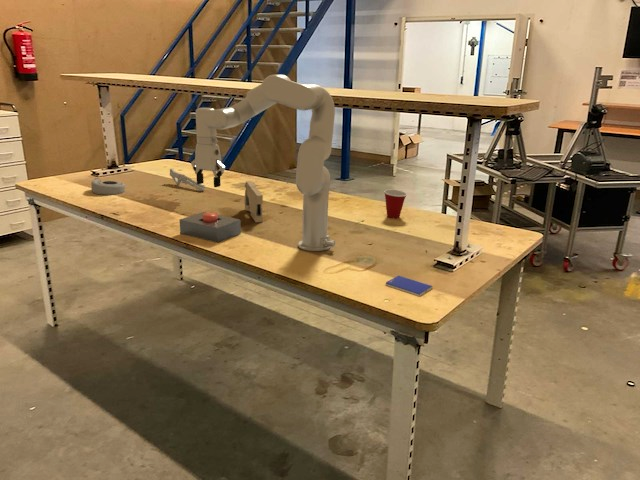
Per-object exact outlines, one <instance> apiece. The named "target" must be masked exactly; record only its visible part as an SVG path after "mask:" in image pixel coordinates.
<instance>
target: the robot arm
mask: <svg viewBox="0 0 640 480" xmlns="http://www.w3.org/2000/svg"><path fill="white" fill-rule="evenodd" d="M276 104H280V105H283V106H285V107H288V108H293V109H295V110H299V111H309V110H311V117H310V122H309V130H308V131H309V133H308V138H306V139H305V140H303V142H302V143H301V144H300V146H299V149H298V153H297V161H296V162H297V164H296V172H295V185H296V188H297V190H298V192H300V193H301V195H302V196H303V198H302V237H301V238H302V239H301V240H299V241H298V245H297V246H298V247H299V249H301V250H303V251H307V252H308V251H309V252H322V251H327V250H329V249H330V248H334V247H335V245H336V240H334V239H330V235H328V221H329V219H328V217H329V196H330V195H329V194H330V187H331V186H330V185H331V174H330V171H329V169H328V168H327V167H326V166H324V165H325V161H326V160H328V159H329V157H330V156H331V154H332V148H333V147H332V146H333V137H334V136H333V134H334V124H335V114H336V109H335V108H336V106H335V103H334V99H333V97H332V95H331V94H330V92H329V91H328V90H326V88H324V87H323V86H321V85H318V84H314V83H309V84H308V83H307V84H302V83H299V82H295V81H292V80H291V79H290V77H289V76H287V75H285V74H270V75H268V76H267V77H265V78H264V79H263V81H262V82H261V84H258V85H257V86H256V87H253V88H252V89H249V90H248V91H247V92H246V96H245V98H243V99H242V100H240V101H239V102H237V103H235V104H233V105H231V106H230V107H223V108H216V109H215V108H213V107H212V108H211V107H198V108H197V109H195V124H196V125H195V129H196V144H195V150H194V151H195V154H194V159H193V160H192V161H191V162H190V165H191V167H192V169H193V171H194V174H195V175H196V182H197V184H202V185H203V184H204V173H203V171H207V172H211V173H212V174H213V188H219V187H221V186H222V185H221V177H222V176H223V174H224V172H225V170H226V166H225V165H224V164H223V163H222V155H221V148H220V145H219V144H218V142H219V139H217V138H218V137H217V135H218V133H217V130H227V129H230V128H235V127H237V126H239V125H241V124H243V123H245V122H247V121H249V120H250V119H252V118H254V117H255V116H257V115H260V113H262V112H263V111H265V110H267V109H269V108H271V107H272V106H275V105H276Z"/></svg>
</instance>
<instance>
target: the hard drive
mask: <svg viewBox="0 0 640 480" xmlns="http://www.w3.org/2000/svg"><path fill="white" fill-rule="evenodd" d="M385 286H387V287H390V288H393V289H397V290H400V291H403V292H405V293H408V294H412V295H415V296H418V297H421V296H422V295H424V294H425V293H427V292H429V291H430V290H432V289H433V285H432V284H431V285H430V284H427V283H425V282H420V281H418V280H414V279H411V278H407V277H405V276H401V275H397V276H395V277H393V278H391V279H389V280H387V281H386V282H385Z"/></svg>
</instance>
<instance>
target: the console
mask: <svg viewBox="0 0 640 480" xmlns="http://www.w3.org/2000/svg"><path fill="white" fill-rule="evenodd" d="M205 213H207V212H205V211H202V212H198V213H196V214H192V215H190V216H186V217H183V218H180V219H179V232H180V235H183V236H188V237H193V238H196V239H200V240H201V239H202V240H204V241H205V240H206V241H209V242H213V243H221V242H223V241H227V240H228V239H232V238H233V237H235V236H239V235H240V234H242V232H241V226H242V225H241V219H239V218H234V217H229V216H224V215H220V214H217V217H218V221H215V222H212V223H208V222H204V221H203V220H202V215H203V214H205Z"/></svg>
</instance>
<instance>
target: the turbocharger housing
mask: <svg viewBox="0 0 640 480" xmlns="http://www.w3.org/2000/svg"><path fill="white" fill-rule="evenodd" d="M90 186H91V192H93V194H96V195H99V196H101V195H102V196H104V195H105V196H113V195H119V194H122V193H124V192H125V191H126V185H125V183H123V182H121V181H117V180H102V181H101V179H100V178H98V177H95V178H94V179H93V180H92V181H91V185H90Z"/></svg>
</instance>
